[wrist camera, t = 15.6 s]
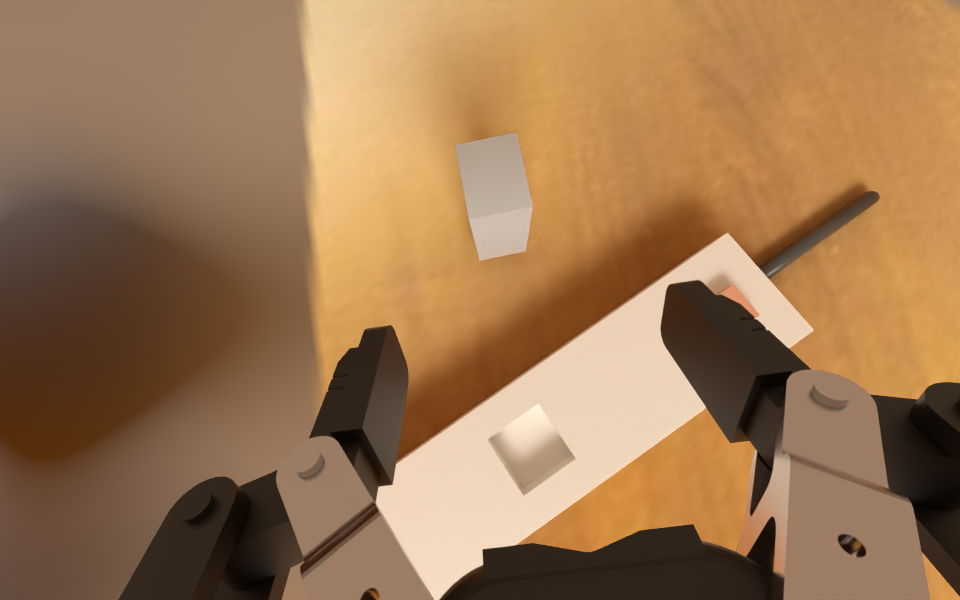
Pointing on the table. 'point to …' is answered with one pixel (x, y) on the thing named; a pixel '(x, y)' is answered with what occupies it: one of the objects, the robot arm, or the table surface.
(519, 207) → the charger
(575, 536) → the table surface
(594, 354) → the power strip
